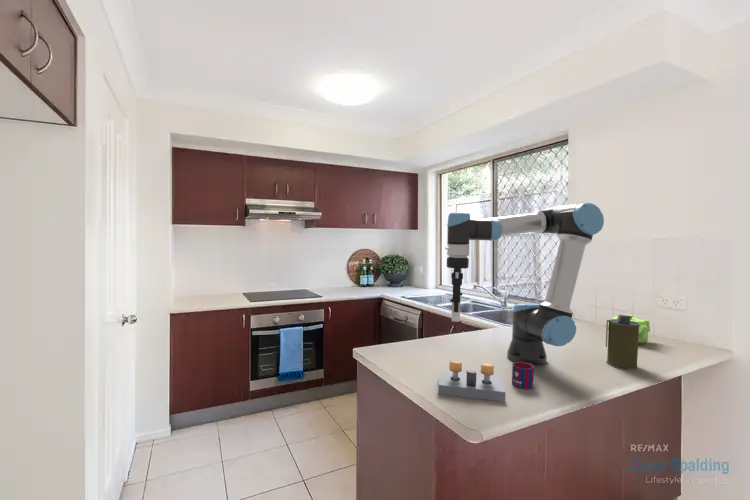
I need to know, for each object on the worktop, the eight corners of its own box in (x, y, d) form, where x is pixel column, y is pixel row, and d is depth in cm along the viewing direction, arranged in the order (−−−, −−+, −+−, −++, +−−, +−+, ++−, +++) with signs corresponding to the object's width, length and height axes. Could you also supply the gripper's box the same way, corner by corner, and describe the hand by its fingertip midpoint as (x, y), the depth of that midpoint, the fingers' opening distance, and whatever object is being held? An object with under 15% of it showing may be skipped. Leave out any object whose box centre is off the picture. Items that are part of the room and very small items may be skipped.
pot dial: (475, 383, 118) (476, 370, 118) (476, 387, 115) (476, 374, 115) (466, 382, 119) (466, 369, 118) (466, 386, 116) (466, 373, 115)
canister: (632, 362, 150) (634, 314, 149) (641, 371, 140) (644, 319, 139) (602, 359, 154) (604, 311, 153) (609, 367, 144) (611, 316, 143)
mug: (507, 383, 126) (508, 363, 126) (526, 378, 131) (526, 359, 131) (524, 390, 120) (525, 370, 120) (543, 384, 126) (544, 365, 125)
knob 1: (461, 376, 123) (461, 360, 123) (461, 381, 119) (461, 364, 119) (449, 375, 124) (449, 359, 123) (448, 379, 120) (449, 363, 120)
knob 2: (492, 379, 121) (493, 363, 120) (493, 384, 117) (494, 367, 116) (480, 378, 121) (480, 362, 121) (480, 383, 118) (481, 366, 117)
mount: (500, 385, 124) (500, 376, 124) (505, 401, 112) (505, 392, 112) (440, 378, 129) (440, 370, 129) (438, 394, 116) (438, 384, 116)
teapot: (665, 348, 171) (667, 320, 171) (622, 347, 172) (623, 319, 171) (637, 337, 190) (639, 312, 189) (598, 336, 190) (600, 311, 189)
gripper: (448, 254, 142) (446, 309, 143) (445, 258, 118) (443, 324, 119) (468, 255, 140) (466, 311, 141) (469, 259, 116) (467, 326, 117)
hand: (456, 317), depth 130 cm, fingers open, 12 cm apart
